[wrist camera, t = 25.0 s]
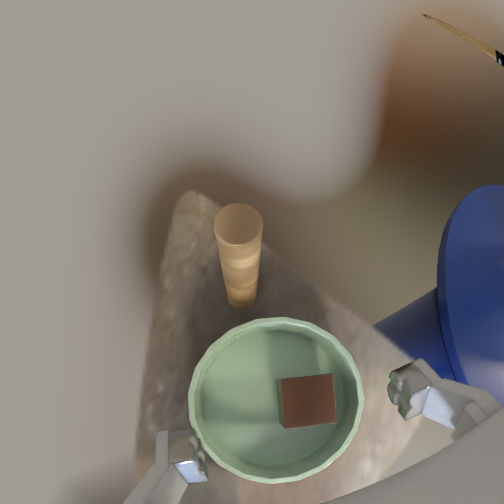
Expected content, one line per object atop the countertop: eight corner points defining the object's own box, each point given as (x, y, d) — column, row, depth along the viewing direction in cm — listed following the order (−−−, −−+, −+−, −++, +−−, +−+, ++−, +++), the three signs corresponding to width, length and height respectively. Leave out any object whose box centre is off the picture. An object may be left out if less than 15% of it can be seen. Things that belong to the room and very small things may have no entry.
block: (321, 374, 26) (333, 372, 22) (324, 417, 24) (337, 422, 20) (276, 379, 25) (281, 378, 22) (279, 423, 24) (284, 429, 20)
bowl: (337, 321, 28) (352, 309, 24) (350, 456, 23) (367, 467, 19) (194, 331, 28) (185, 322, 24) (203, 471, 22) (195, 486, 18)
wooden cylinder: (254, 283, 30) (260, 200, 17) (257, 309, 29) (266, 243, 16) (226, 285, 30) (212, 204, 17) (228, 312, 28) (214, 247, 16)
